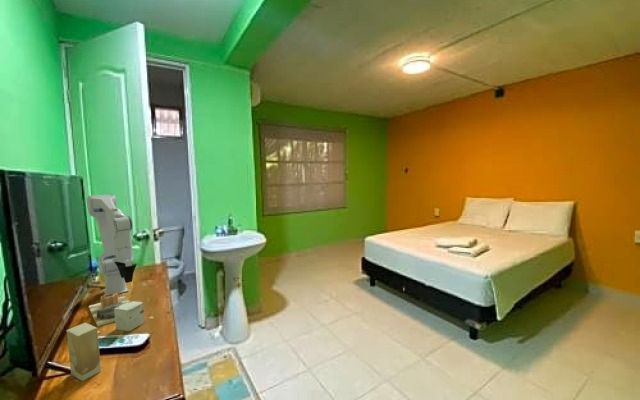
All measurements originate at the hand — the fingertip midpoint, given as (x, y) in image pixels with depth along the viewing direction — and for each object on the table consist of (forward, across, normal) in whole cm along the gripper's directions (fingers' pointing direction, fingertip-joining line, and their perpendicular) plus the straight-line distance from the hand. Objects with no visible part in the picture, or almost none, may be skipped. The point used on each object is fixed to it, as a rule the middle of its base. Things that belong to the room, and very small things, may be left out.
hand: (126, 279), depth 117 cm
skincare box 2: (+9, +23, -4) cm, 25 cm away
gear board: (+9, +5, -6) cm, 12 cm away
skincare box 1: (+9, +43, -18) cm, 47 cm away
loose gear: (+8, +1, -6) cm, 10 cm away
